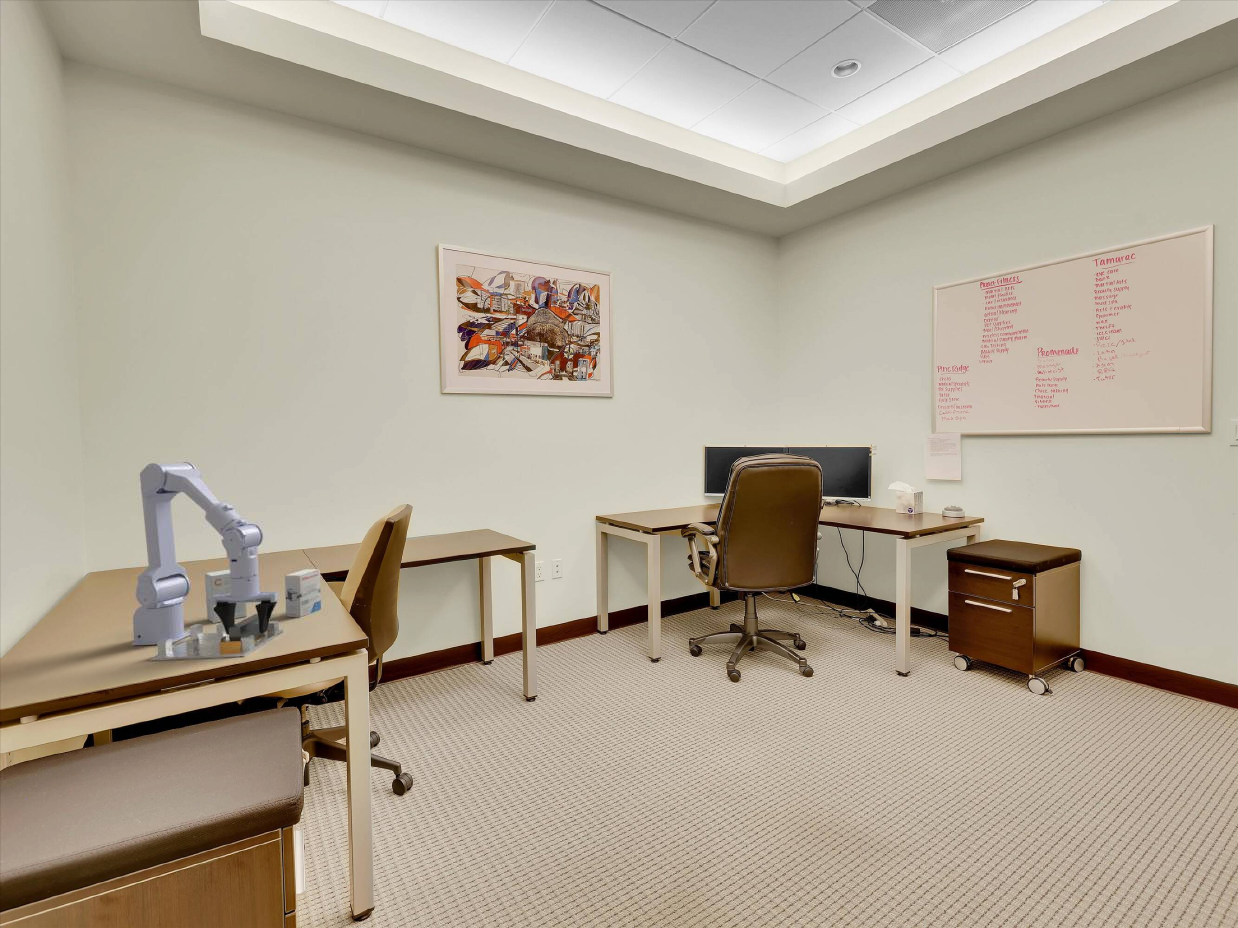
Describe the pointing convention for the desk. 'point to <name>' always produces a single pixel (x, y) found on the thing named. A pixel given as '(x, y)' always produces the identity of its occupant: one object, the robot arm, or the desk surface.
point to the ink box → (302, 592)
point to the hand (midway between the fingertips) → (247, 632)
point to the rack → (213, 644)
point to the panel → (245, 629)
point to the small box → (220, 585)
